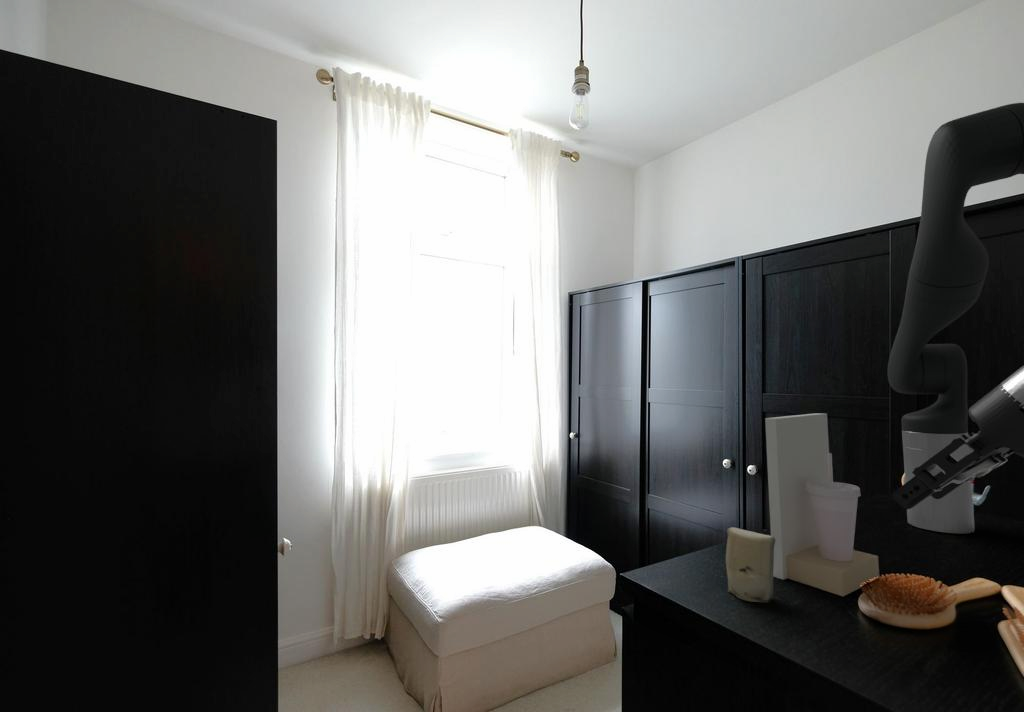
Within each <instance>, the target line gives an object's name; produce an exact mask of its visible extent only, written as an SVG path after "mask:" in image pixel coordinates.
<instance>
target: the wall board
mask: <svg viewBox="0 0 1024 712" xmlns="http://www.w3.org/2000/svg"><path fill="white" fill-rule="evenodd" d="M764 420H765V438H766V439H765V441H766V442H765V443H766V461H767V462H766V463H767V466H766V467H767V480H768V481H767V482H768V483H767V484H768V503H769V504H768V506H769V525H770V536H772V537H774V538H775V545H774V566H773V578H776V579H780V580H782V581H785V580H787V579H790V580H791V581H794V582H798V583H801V584H804V585H807V586H810V587H813V588H816V589H820V590H822V591H826V592H829V593H832V594H833V595H834V594H835V595H837V596H840V597H845V596H847V595H849V594H851V593H853V592H855V591H857V590H859V589H861V588H860V584H861V583H862V582H865V581H868V580H869V579H871V578H874V577H877V576H879V577H880V568H879V555H876V554H872V553H869V552H868V553H867V552H863V551H860V550H859V551H858V550H855V549H853V556H852V560H851V561H848V562H841V561H833V560H829V559H826V558H823V557H822V556H820V552H819V546H818V541H817V535H816V530H815V524H814V519H813V513H812V508H811V503H810V497H809V492H807V491H806V483H808V482H812V481H828V464H827V453H830V444H829V443H830V442H829V429H828V428H829V427H828V413H820V412H819V413H818V412H817V413H807V414H805V413H804V414H796V415H795V414H794V415H785V416H783V415H782V416H775V417H774V416H773V417H766V418H764Z"/></svg>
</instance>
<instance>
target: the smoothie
mask: <svg viewBox="0 0 1024 712" xmlns="http://www.w3.org/2000/svg"><path fill="white" fill-rule="evenodd" d="M827 464H828V481H812V482H808V483H806V491H807V492H809V497H810V503H811V508H812V513H813V519H814V524H815V530H816V535H817V541H818V546H819V552H820V556H822V557H823V558H826V559H829V560H833V561H841V562H848V561H851V560H852V556H853V550H854V544H855V543H854V542H855V532H856V523H857V522H856V521H857V510H858V499H859V497H861V495H862V494H861V488H860V487H859V486H857V485H854V484H851V483H846V482H840V481H839V482H838V481H834V476H833V474H834V473H833V454H832V452H829V453H827Z"/></svg>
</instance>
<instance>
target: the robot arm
mask: <svg viewBox="0 0 1024 712" xmlns="http://www.w3.org/2000/svg"><path fill="white" fill-rule="evenodd" d="M930 139H931V140H929V144H928V148H927V152H926V157H925V165H924V174H923V186H922V198H921V199H922V201H921V213H920V221H919V226H918V231H917V236H916V237H917V238H916V241H915V247H914V252H913V257H912V259H911V264H910V269H909V272H908V277H907V283H906V288H905V289H906V290H905V297H904V304H903V308H902V314H901V319H900V321H899V326H898V329H897V333H896V335H895V339H894V341H893V344H892V348H891V350H890V355H889V358H888V363H887V380H888V383H889V385H890V387H891V388H892V390H894V391H895V392H897V393H899V394H905V395H938V398H937V400H936V401H935V402H934V403H933V404H931V405H929V406H928V407H925V408H923V409H920V410H916V411H913V412H909V413H905V414H904V415H903V416H902V417H901V438H902V452H903V454H902V455H903V468H904V484H902V486H900V487H899V488H897V489H896V490H895V491H893V492H892V493H891V496H892V499H893V500H895V501H896V502H897V504H899V505H900V506H901V508H903V509H904V510H906V517H907V519H906V520H907V523H908V524H909V525H911V526H913V527H916V528H919V529H923V530H928V531H932V532H940V533H947V534H971V532H972V533H975V531H976V529H975V528H976V527H975V516H974V500H973V497H974V496H973V483H972V482H973V481H974V480H975V478H979V479H980V478H981V477H983V476H986V475H987V474H989V473H990V472H991V471H993V470H995V469H998V468H999V467H1000V466H1003V465H1004V464H1006V462H1008V458H1009V457H1010V456H1011V455H1012V454H1016V455H1018V456H1020V457H1022V458H1024V365H1022V366H1021V367H1019V369H1017V370H1016V371H1015V372H1013V373H1012V374H1011V375H1009V376H1008V377H1007V378H1006V379H1004V380H1003V381H1002V382H1000V383H999V384H997V385H996V386H995V387H994V388H993V389H992V390H991V391H989V392H988V393H986V394H985V395H984V396H983V397H982V398H980V399H979V400H978V401H976V402H975V403H974V404H972V405H971V406H970V407H969V409H968V406H969V404H968V362H967V357H966V354H965V352H964V350H963V348H962V347H961V346H959V344H955V343H929V344H928V342H929V341H930V340H931V339H933V338H934V336H936V335H937V334H938V333H940V332H941V331H942V330H944V329H945V328H946V327H948V326H950V325H951V324H952V323H953V322H954V321H956V320H958V319H959V318H960V317H961V316H962V315H964V314H965V313H966V312H967V311H968V310H969V309H970V308H972V307H973V306H974V304H975V303H976V302H977V301H978V299H979V297H980V296H981V293H982V289H983V286H984V284H985V279H986V276H987V273H988V270H989V266H990V257H989V254H988V251H987V249H986V247H985V245H984V244H983V243H982V241H981V240H980V238H978V236H977V235H976V234H975V232H974V231H973V230H972V228H970V226H969V225H968V223H967V221H966V219H965V217H964V212H965V211H964V209H965V208H964V207H965V202H966V199H967V196H968V193H969V190H971V188H973V187H976V186H979V185H984V184H988V183H992V182H996V181H1000V180H1005V179H1008V178H1011V177H1015V176H1017V175H1024V102H1016V103H1009V104H1004V105H1001V106H997V107H994V108H990V109H987V110H983V111H980V112H976V113H971V114H968V115H965V116H962V117H958V118H955V119H951V120H950V121H947V122H945V123H943V124H941V125H940V126H939V127H938V128H937V129H936V130H935V132H934V133H933V135H932V137H931V138H930ZM969 417H970V419H971V420H972V422H973V423H974V424H976V425H977V426H978V428H979V431H978V432H976V433H974V432H971V433H969V428H968V421H969V420H968V419H969ZM974 530H975V531H974Z"/></svg>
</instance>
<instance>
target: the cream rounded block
mask: <svg viewBox="0 0 1024 712" xmlns="http://www.w3.org/2000/svg"><path fill="white" fill-rule="evenodd" d="M726 532H727V541H726V550H725V568H726V575H727V592H728V593H730V594H732V595H734V596H736V597H737V598H738V599H741V600H742V601H747V602H751V603H753V602H754V603H768V604H769V603H771V602H772V601H773V598H774V597H773V596H774V577H773V566H774V545H775V538H774V537H772V536H771V535H769V534H763V533H760V532H759V533H758V532H756V531H750V530H746V529H743V528H742V529H741V528H740V527H739V528H738V527H733V526H732V527H729V528H727V529H726Z"/></svg>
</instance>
